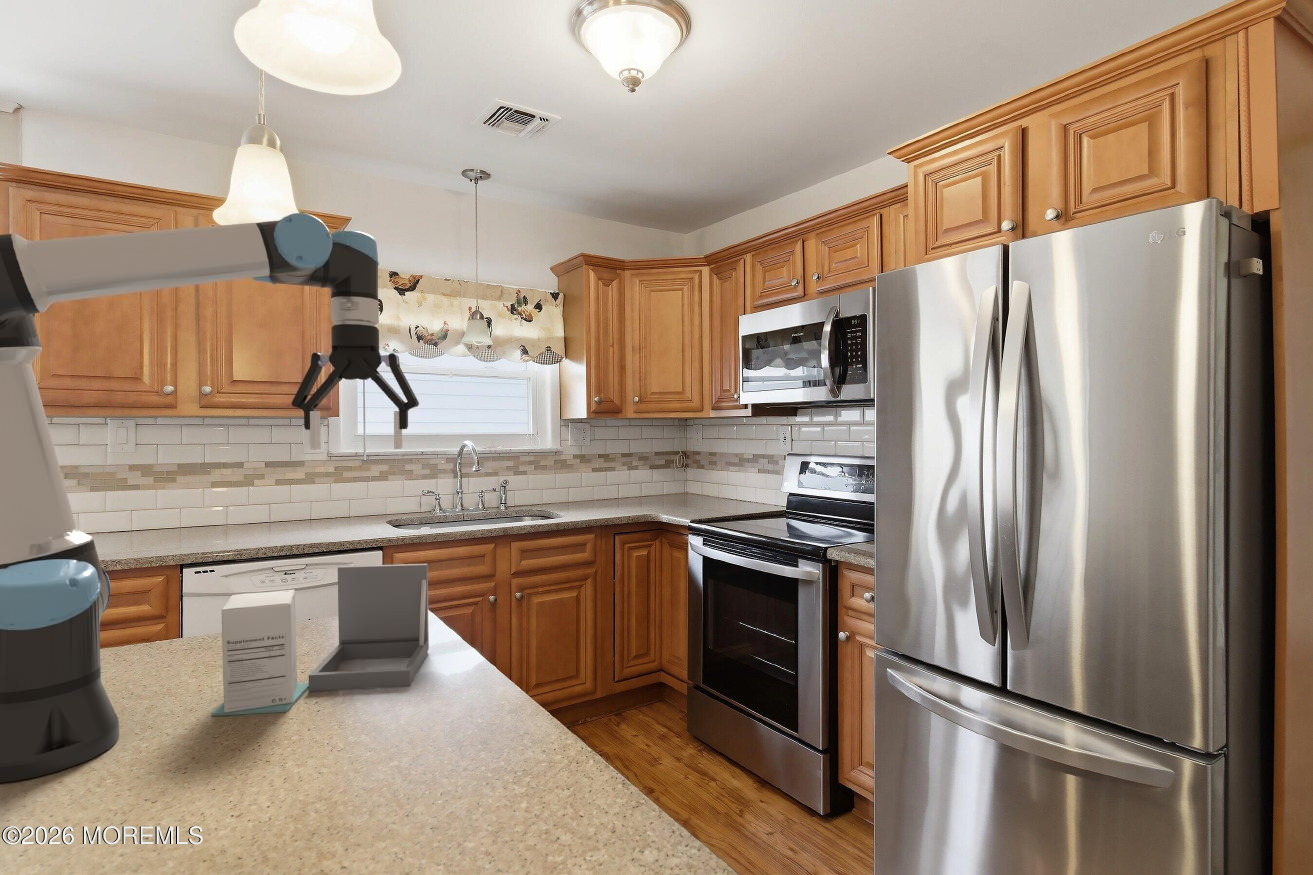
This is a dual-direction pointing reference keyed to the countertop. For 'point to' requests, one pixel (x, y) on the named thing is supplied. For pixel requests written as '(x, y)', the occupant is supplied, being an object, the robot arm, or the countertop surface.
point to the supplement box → (259, 650)
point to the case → (378, 626)
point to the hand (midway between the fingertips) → (357, 449)
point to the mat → (270, 709)
